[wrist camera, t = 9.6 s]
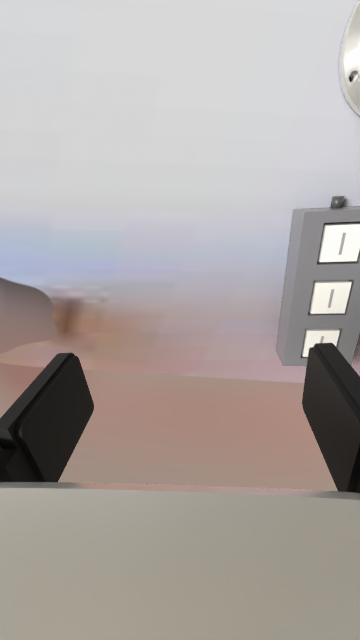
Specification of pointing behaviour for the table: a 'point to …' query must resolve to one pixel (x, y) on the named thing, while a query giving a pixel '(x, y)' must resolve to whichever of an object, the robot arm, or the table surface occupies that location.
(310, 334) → the button
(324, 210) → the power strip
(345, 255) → the button
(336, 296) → the middle button
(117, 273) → the table surface
